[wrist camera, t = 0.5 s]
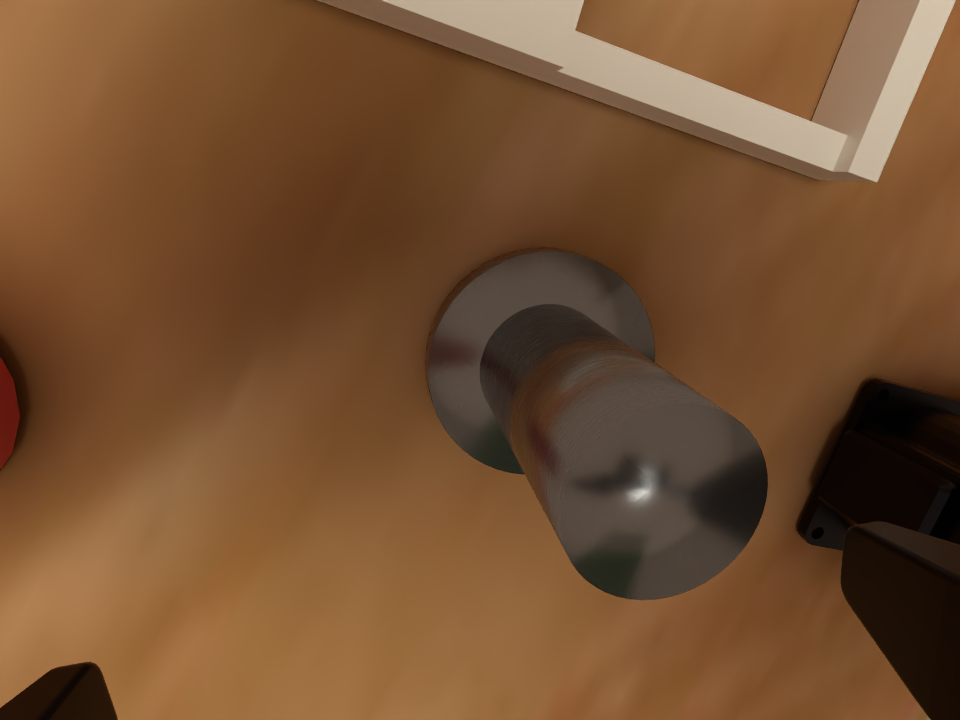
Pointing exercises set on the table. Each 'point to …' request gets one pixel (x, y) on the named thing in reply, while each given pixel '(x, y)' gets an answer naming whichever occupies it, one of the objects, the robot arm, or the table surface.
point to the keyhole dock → (690, 100)
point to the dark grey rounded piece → (594, 422)
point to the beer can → (7, 414)
